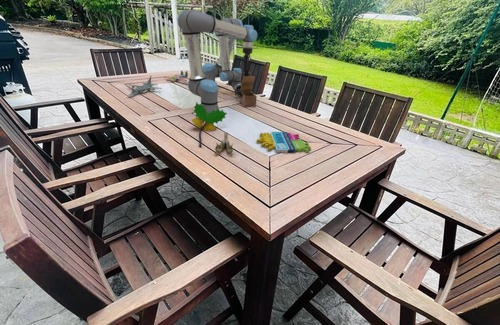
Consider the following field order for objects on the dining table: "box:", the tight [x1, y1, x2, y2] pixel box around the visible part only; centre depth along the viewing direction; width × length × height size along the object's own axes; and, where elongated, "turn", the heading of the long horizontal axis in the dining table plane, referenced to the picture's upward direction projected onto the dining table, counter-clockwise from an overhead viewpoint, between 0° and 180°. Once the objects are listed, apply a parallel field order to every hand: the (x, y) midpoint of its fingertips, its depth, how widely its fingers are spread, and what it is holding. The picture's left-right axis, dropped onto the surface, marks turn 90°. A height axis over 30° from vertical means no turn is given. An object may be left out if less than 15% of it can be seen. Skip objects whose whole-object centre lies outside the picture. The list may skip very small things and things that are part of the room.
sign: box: [256, 131, 312, 154], centre depth 152 cm, size 26×2×30 cm
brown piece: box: [241, 71, 256, 92], centre depth 212 cm, size 14×9×9 cm
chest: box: [239, 92, 257, 108], centre depth 213 cm, size 13×9×9 cm
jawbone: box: [214, 131, 234, 156], centre depth 136 cm, size 9×15×10 cm
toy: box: [163, 70, 189, 83], centre depth 276 cm, size 28×7×30 cm
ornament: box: [191, 102, 228, 132], centre depth 162 cm, size 21×8×15 cm, turn 105°
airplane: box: [127, 75, 162, 98], centre depth 225 cm, size 38×32×10 cm
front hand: (246, 78), depth 212 cm, fingers closed on brown piece, 2 cm apart
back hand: (247, 95), depth 214 cm, fingers closed on chest, 9 cm apart
